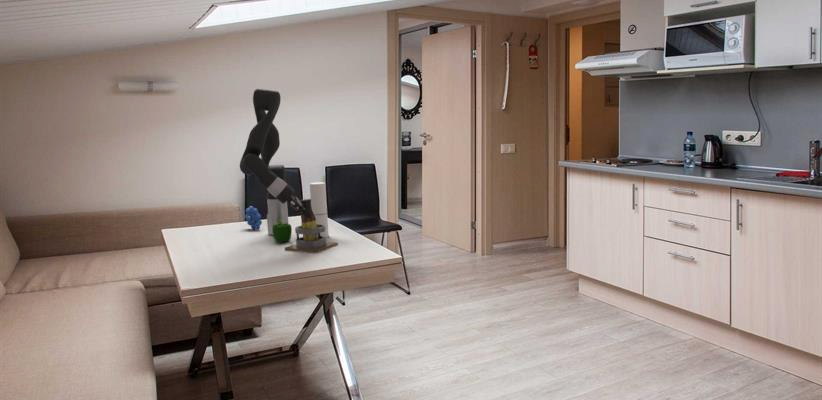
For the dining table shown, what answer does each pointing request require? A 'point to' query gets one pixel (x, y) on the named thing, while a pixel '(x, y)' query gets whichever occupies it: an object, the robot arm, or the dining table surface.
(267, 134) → the robot arm
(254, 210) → the grapes
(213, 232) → the dining table surface
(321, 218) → the cylindrical container
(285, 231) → the bell pepper
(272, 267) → the dining table surface
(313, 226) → the sauce bottle
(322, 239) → the collar stand
